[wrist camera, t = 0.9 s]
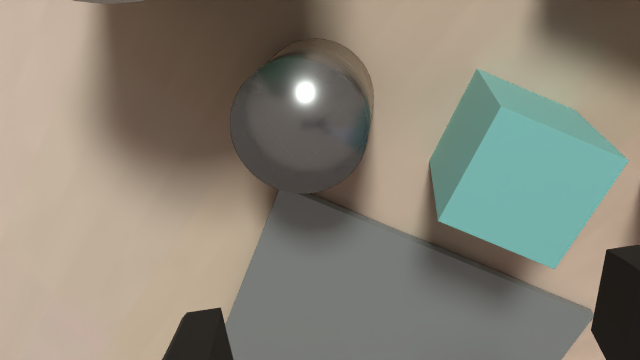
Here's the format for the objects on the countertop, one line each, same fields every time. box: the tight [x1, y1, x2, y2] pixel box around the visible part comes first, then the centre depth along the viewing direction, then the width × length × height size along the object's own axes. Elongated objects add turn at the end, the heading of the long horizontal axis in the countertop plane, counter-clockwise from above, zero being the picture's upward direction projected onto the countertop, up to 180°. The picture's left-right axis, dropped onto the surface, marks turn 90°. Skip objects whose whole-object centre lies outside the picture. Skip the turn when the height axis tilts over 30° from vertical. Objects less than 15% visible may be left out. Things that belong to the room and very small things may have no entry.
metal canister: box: [230, 39, 374, 194], centre depth 22 cm, size 5×5×5 cm
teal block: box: [429, 69, 629, 269], centre depth 22 cm, size 4×4×6 cm
